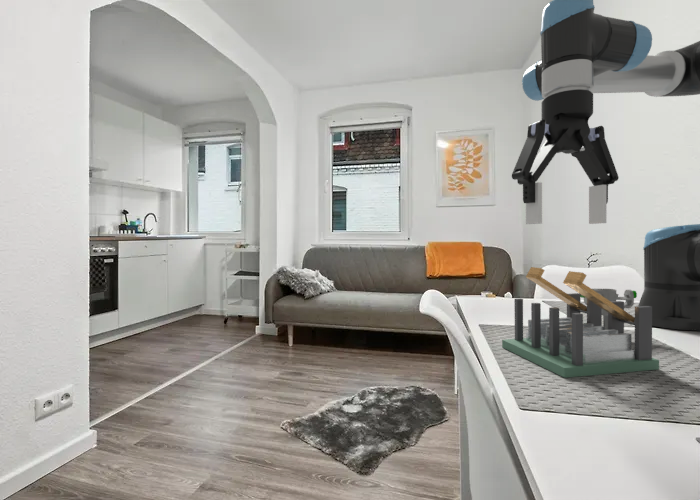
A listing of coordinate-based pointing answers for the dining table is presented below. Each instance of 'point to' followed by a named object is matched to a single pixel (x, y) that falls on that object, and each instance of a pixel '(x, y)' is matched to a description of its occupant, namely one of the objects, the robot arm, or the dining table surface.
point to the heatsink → (589, 341)
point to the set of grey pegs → (593, 316)
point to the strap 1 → (554, 289)
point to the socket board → (564, 363)
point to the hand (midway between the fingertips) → (566, 223)
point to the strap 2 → (596, 297)
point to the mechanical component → (612, 296)
